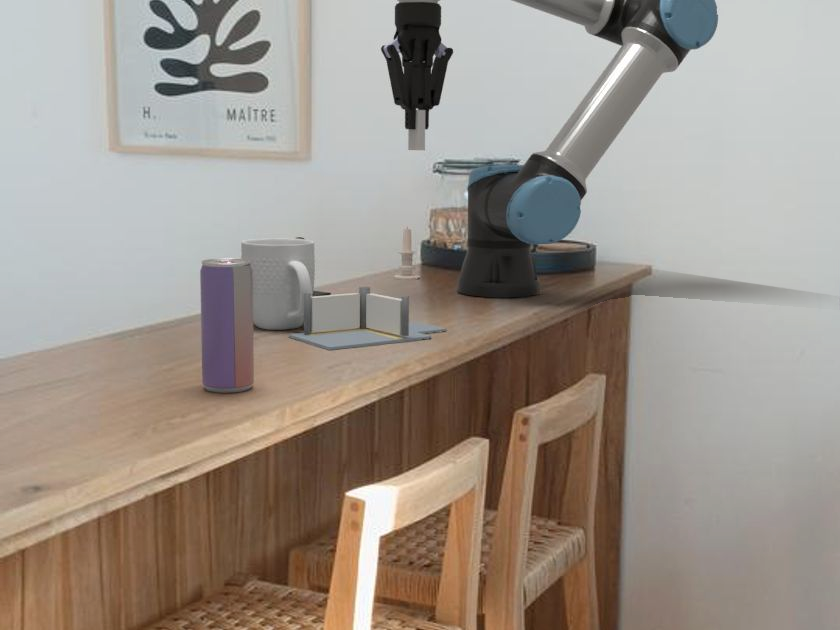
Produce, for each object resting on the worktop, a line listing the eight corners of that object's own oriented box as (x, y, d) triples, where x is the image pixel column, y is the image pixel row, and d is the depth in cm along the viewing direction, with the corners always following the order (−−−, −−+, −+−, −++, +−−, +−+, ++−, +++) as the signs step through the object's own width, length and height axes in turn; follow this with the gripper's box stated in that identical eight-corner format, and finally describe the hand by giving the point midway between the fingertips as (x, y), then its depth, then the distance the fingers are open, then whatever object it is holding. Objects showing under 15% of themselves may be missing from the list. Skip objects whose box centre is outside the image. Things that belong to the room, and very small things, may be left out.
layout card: (416, 323, 188) (416, 320, 188) (461, 335, 178) (461, 332, 178) (288, 337, 175) (288, 334, 175) (329, 350, 165) (329, 346, 165)
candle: (395, 276, 244) (395, 225, 243) (421, 277, 244) (421, 225, 242) (392, 279, 239) (392, 227, 238) (418, 280, 239) (419, 227, 237)
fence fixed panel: (366, 330, 182) (366, 286, 181) (371, 331, 180) (372, 287, 179) (301, 336, 175) (301, 291, 174) (307, 338, 174) (307, 293, 173)
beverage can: (209, 395, 138) (207, 264, 135) (197, 384, 143) (194, 259, 141) (260, 391, 140) (258, 262, 138) (246, 381, 145) (244, 257, 143)
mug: (340, 332, 179) (340, 245, 177) (273, 339, 173) (273, 248, 171) (293, 318, 191) (293, 236, 189) (229, 324, 185) (228, 239, 183)
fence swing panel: (410, 335, 173) (411, 296, 172) (404, 336, 172) (404, 297, 171) (372, 326, 180) (372, 289, 179) (366, 327, 179) (366, 290, 178)
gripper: (437, 6, 202) (435, 149, 205) (371, 1, 194) (370, 149, 198) (464, 3, 196) (461, 150, 199) (397, -2, 188) (396, 150, 192)
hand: (416, 149), depth 199 cm, fingers closed
